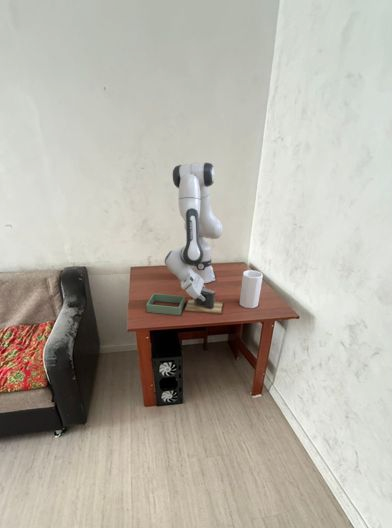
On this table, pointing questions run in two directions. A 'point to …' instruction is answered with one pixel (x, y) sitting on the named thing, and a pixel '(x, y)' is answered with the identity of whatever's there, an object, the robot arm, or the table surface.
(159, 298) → the bin
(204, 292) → the camera
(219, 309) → the board
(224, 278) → the table surface
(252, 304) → the cup
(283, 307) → the table surface
